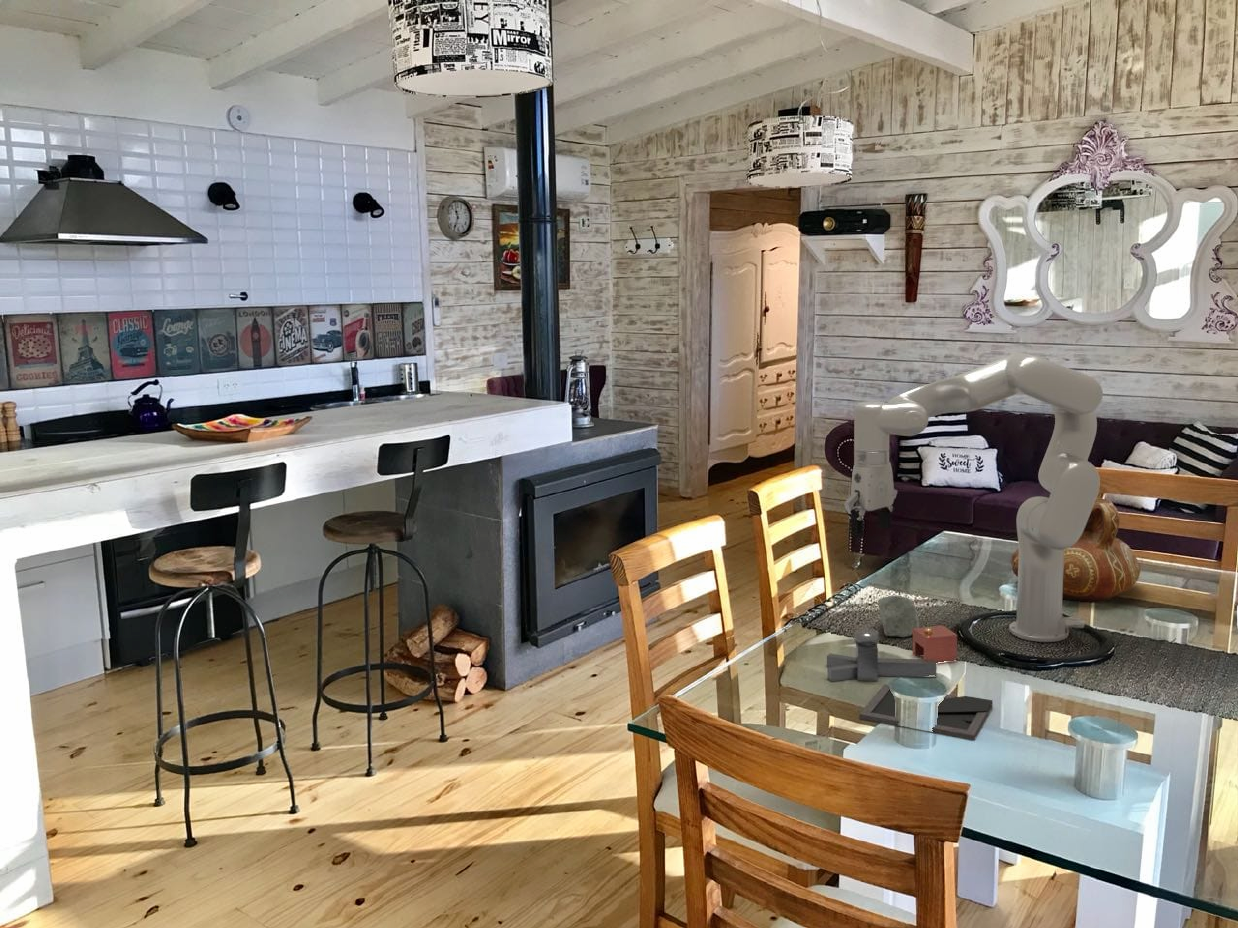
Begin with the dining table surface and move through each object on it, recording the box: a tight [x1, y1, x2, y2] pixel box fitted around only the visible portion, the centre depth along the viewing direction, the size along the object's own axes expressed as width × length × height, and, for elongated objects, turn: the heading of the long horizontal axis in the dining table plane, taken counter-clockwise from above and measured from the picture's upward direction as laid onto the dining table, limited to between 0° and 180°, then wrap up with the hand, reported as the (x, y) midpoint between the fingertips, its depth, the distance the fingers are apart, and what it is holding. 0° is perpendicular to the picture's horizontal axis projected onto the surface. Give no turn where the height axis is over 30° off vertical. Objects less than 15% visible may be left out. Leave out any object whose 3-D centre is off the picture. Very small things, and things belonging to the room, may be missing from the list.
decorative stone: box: [877, 595, 920, 638], centre depth 243 cm, size 13×11×10 cm
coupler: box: [826, 628, 937, 683], centre depth 218 cm, size 22×10×9 cm, turn 80°
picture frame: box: [859, 683, 994, 741], centre depth 199 cm, size 16×2×21 cm
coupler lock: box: [912, 624, 958, 663], centre depth 225 cm, size 7×6×7 cm
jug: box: [1010, 497, 1141, 604], centre depth 265 cm, size 30×30×25 cm
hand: (871, 532), depth 234 cm, fingers open, 9 cm apart
